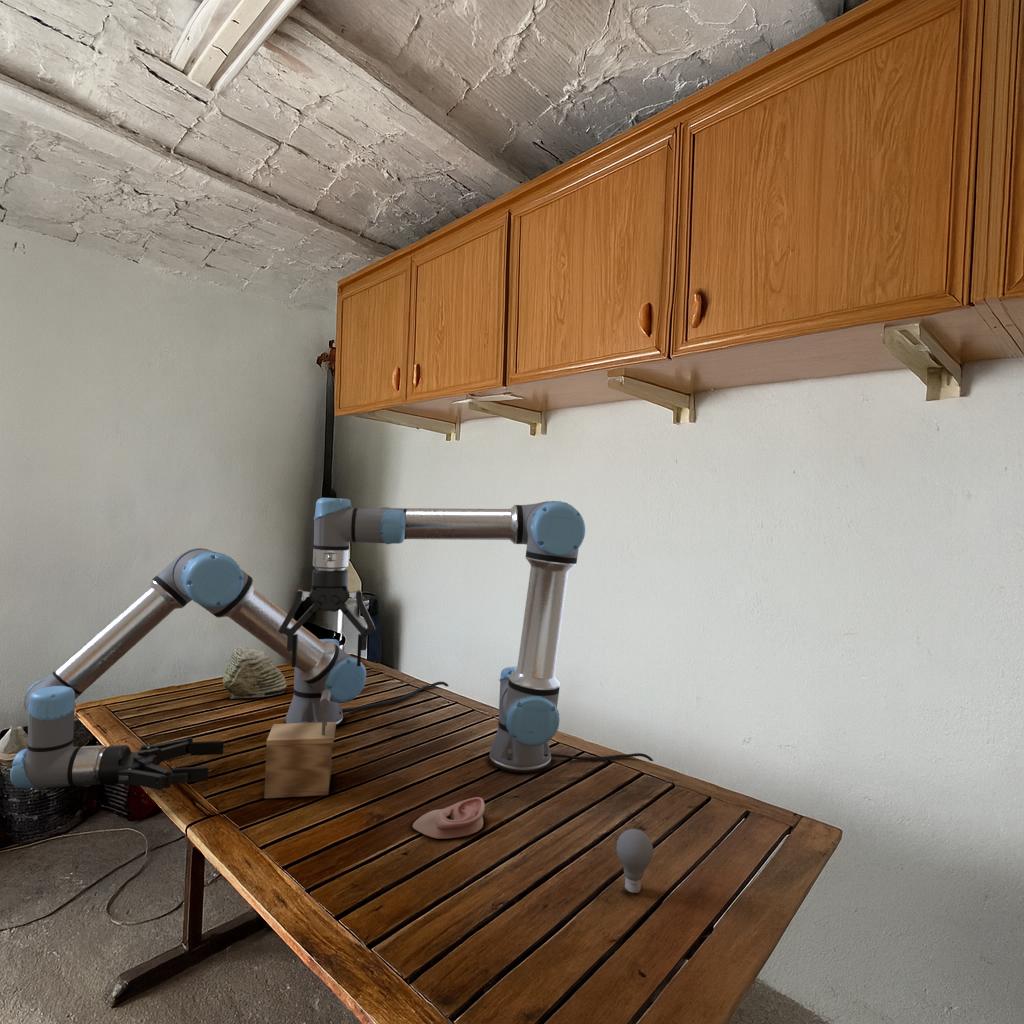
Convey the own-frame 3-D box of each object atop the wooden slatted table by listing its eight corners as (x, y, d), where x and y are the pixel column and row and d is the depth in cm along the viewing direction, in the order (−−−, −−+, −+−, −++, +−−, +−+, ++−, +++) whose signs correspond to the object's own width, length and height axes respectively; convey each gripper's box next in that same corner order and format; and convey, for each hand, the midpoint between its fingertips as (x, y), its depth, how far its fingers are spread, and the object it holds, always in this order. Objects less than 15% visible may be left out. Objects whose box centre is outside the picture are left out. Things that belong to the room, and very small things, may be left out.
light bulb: (610, 879, 108) (613, 822, 108) (644, 879, 109) (647, 822, 109) (619, 902, 102) (622, 840, 102) (655, 901, 103) (658, 840, 103)
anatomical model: (407, 813, 120) (427, 787, 131) (406, 834, 120) (426, 806, 131) (475, 823, 117) (489, 796, 129) (474, 845, 117) (488, 815, 129)
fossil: (218, 695, 195) (220, 647, 195) (278, 685, 208) (279, 640, 207) (228, 703, 189) (230, 653, 188) (289, 692, 201) (290, 645, 201)
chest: (330, 775, 144) (332, 727, 144) (328, 794, 135) (330, 743, 135) (271, 778, 141) (273, 729, 141) (264, 798, 132) (266, 746, 132)
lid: (335, 726, 144) (337, 687, 144) (333, 743, 135) (335, 700, 135) (273, 729, 141) (274, 688, 141) (266, 745, 132) (268, 702, 132)
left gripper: (126, 758, 142) (228, 754, 146) (75, 813, 117) (200, 805, 122) (127, 725, 142) (229, 721, 146) (77, 773, 117) (201, 767, 122)
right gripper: (267, 569, 132) (263, 670, 132) (389, 571, 137) (385, 668, 138) (272, 565, 139) (269, 661, 140) (388, 567, 145) (384, 660, 145)
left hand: (216, 760), depth 134 cm, fingers open, 13 cm apart
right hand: (326, 665), depth 139 cm, fingers open, 13 cm apart
